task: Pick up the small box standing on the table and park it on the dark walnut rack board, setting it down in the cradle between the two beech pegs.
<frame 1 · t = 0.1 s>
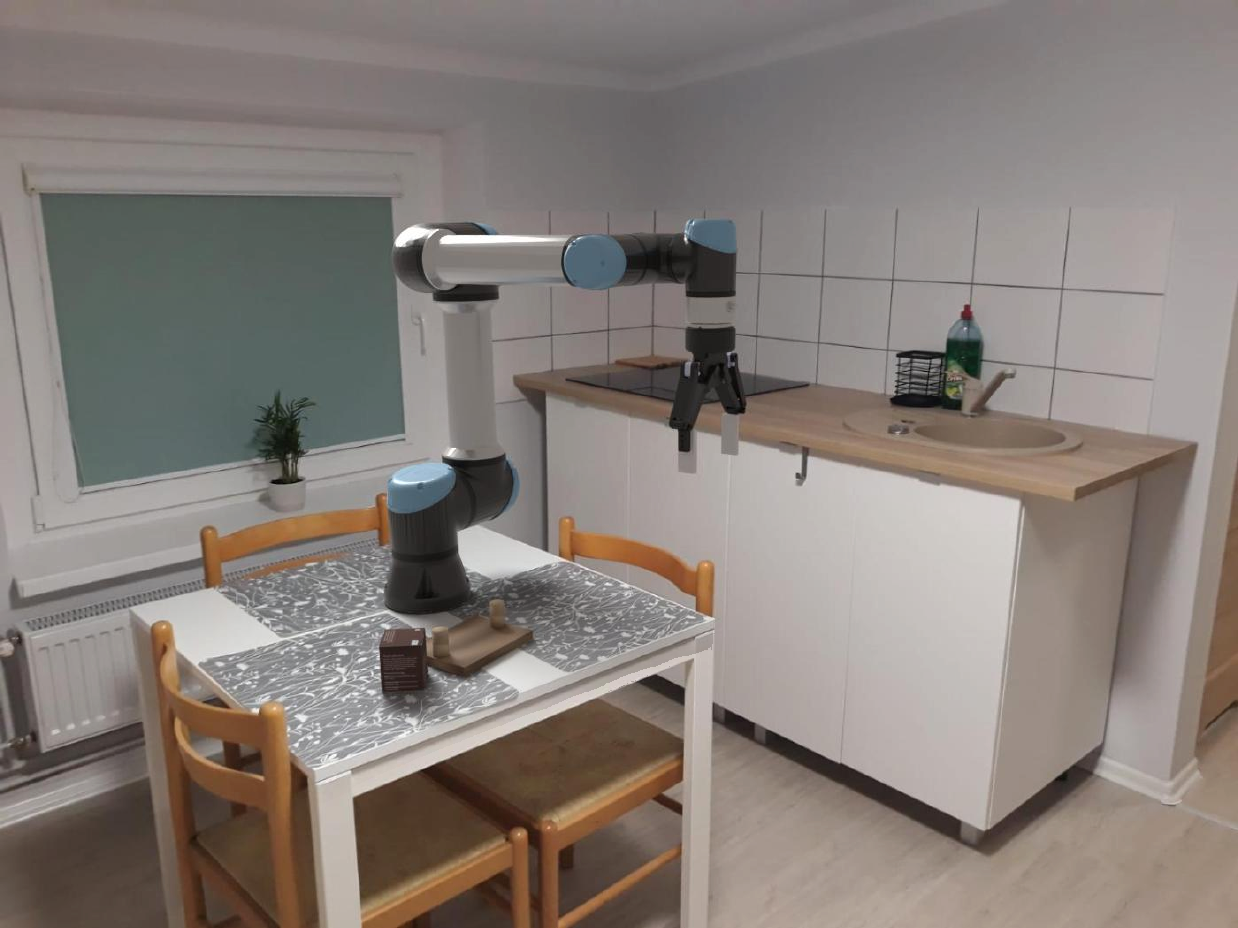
hand: (709, 463, 152), 28 cm above the table, fingers open, 13 cm apart
box: (405, 684, 142), on the table
rack board: (471, 648, 153), on the table
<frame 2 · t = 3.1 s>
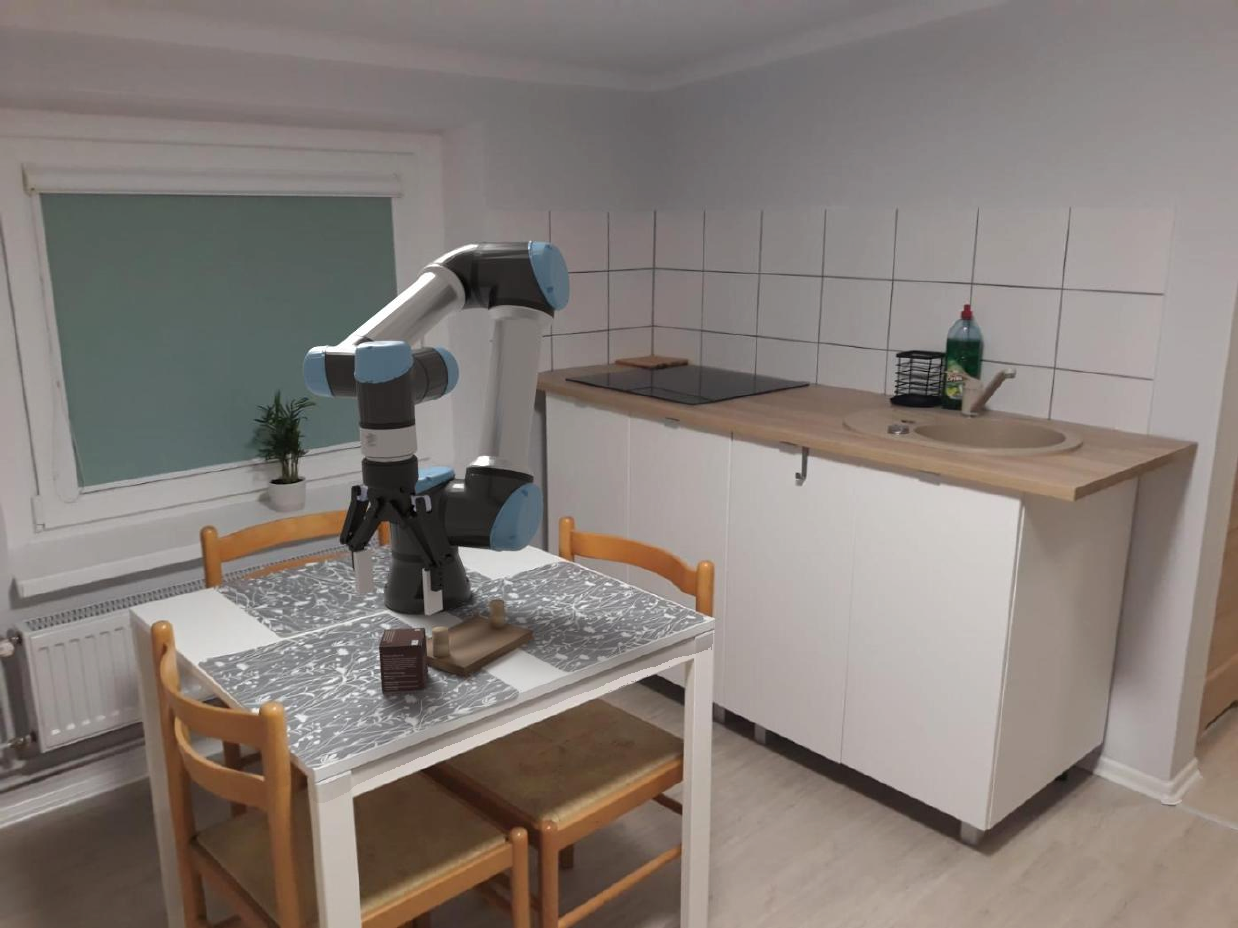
hand: (398, 602, 139), 13 cm above the table, fingers open, 13 cm apart
nothing on the table moved.
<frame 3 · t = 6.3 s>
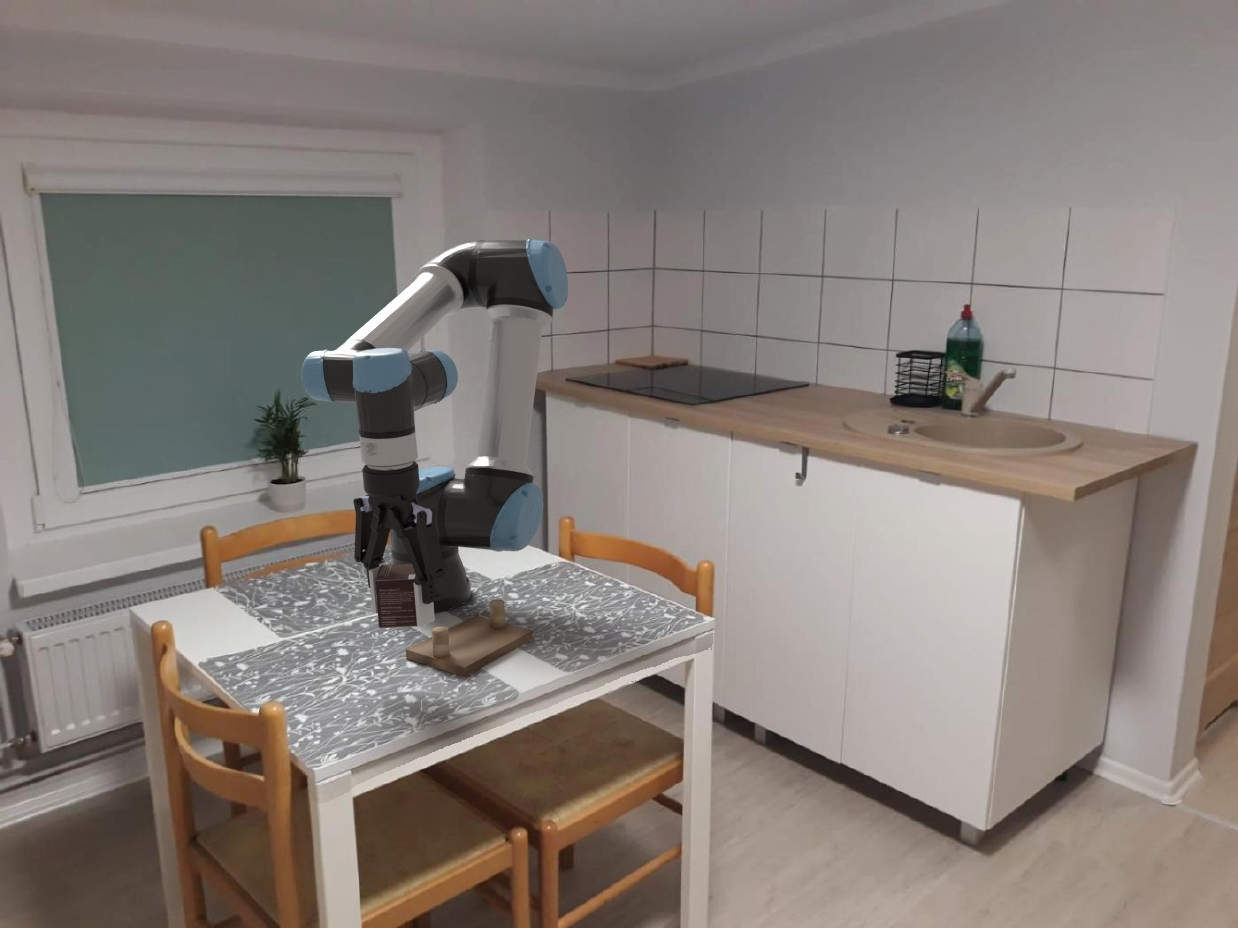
hand: (403, 616, 140), 10 cm above the table, fingers closed on box, 8 cm apart
box: (403, 620, 140), point 9 cm above the table, touching gripper
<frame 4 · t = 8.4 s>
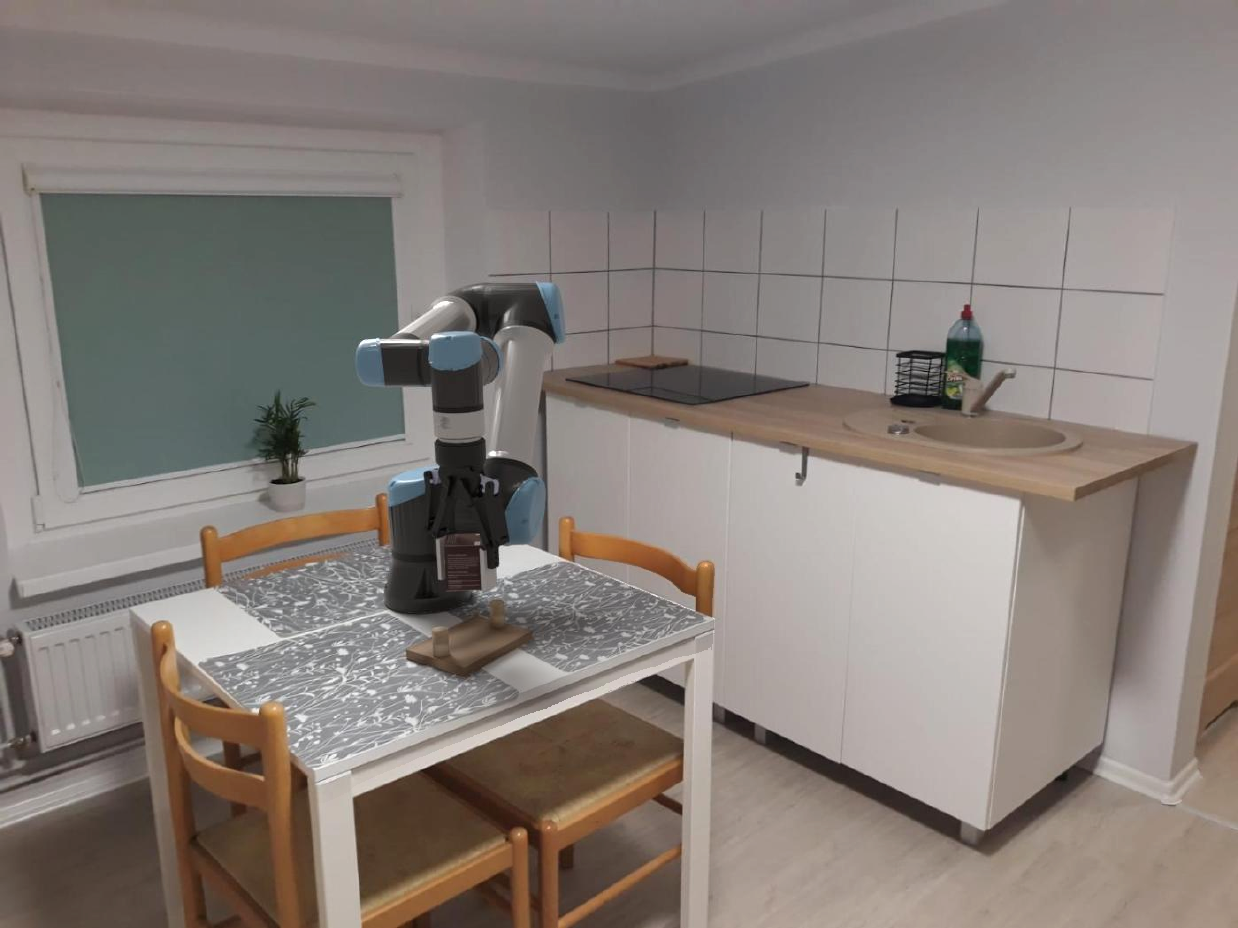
hand: (467, 582, 151), 11 cm above the table, fingers closed on box, 8 cm apart
box: (466, 585, 151), point 10 cm above the table, touching gripper
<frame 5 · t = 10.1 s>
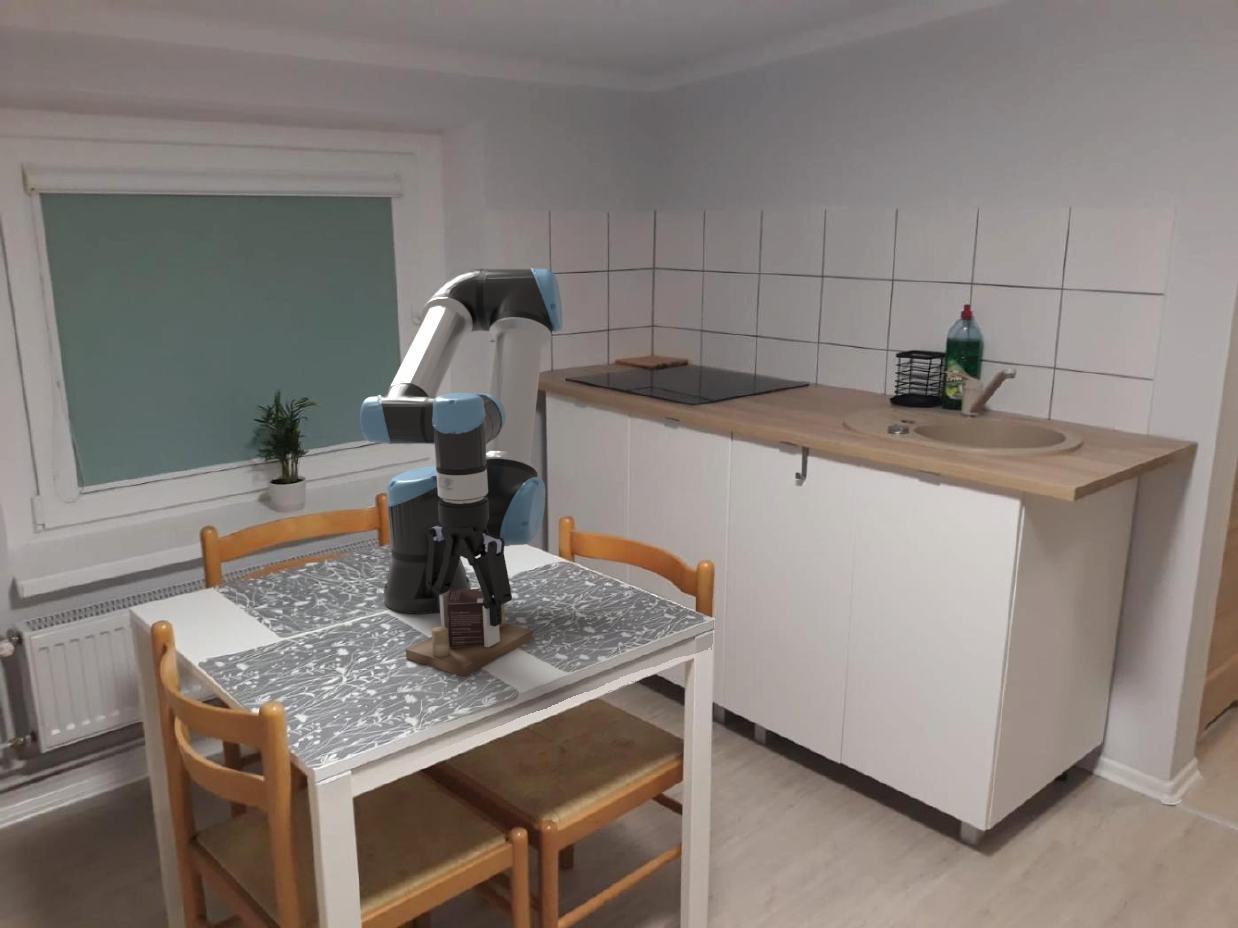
hand: (470, 637, 153), 2 cm above the table, fingers closed on box, 8 cm apart
box: (470, 640, 153), point 1 cm above the table, touching gripper, rack board
when the fingers open (2 cm above the table, at t = 10.8 s): box stays where it is, resting on rack board.
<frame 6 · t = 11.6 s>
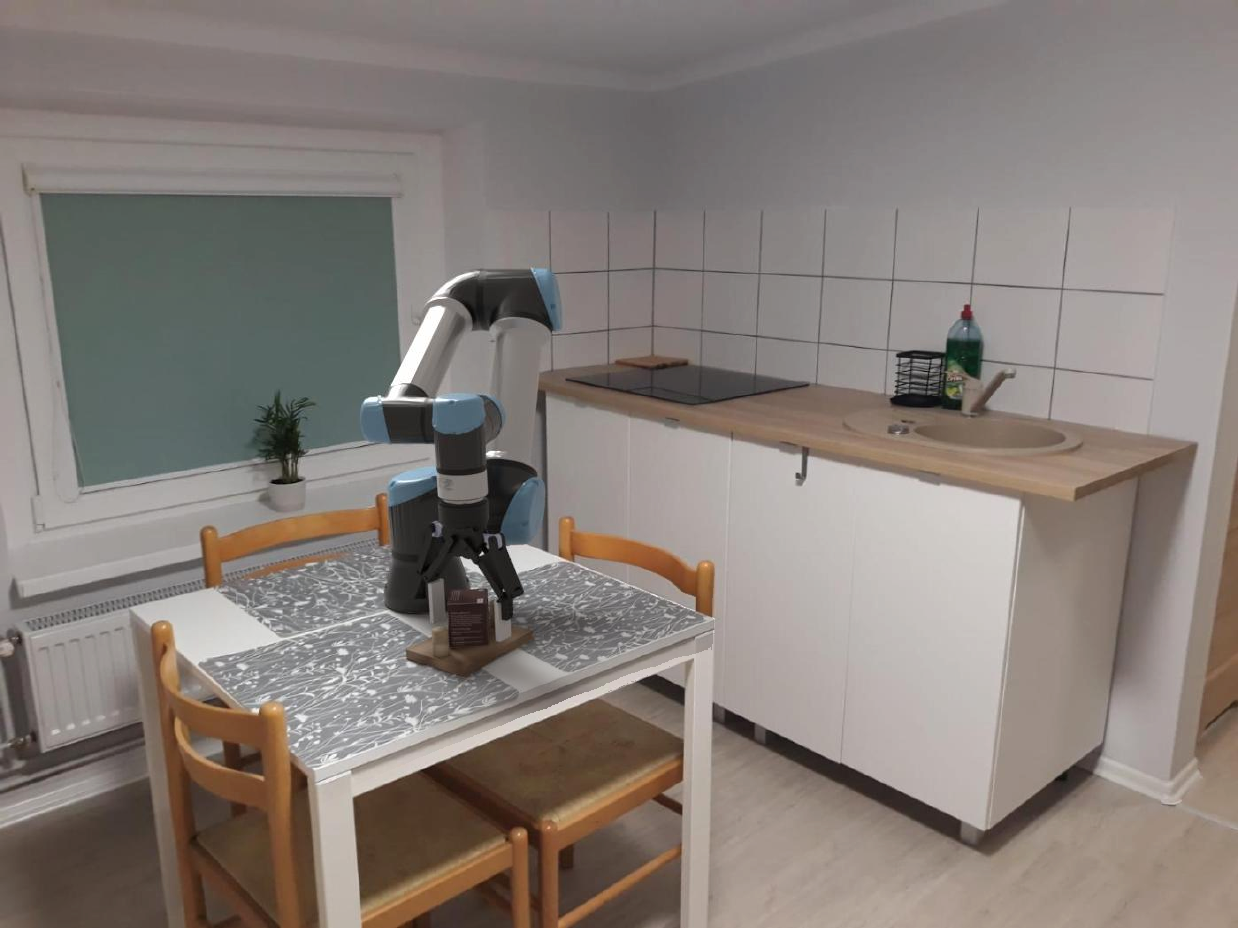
hand: (470, 629, 153), 3 cm above the table, fingers open, 13 cm apart
box: (470, 641, 153), point 1 cm above the table, touching rack board
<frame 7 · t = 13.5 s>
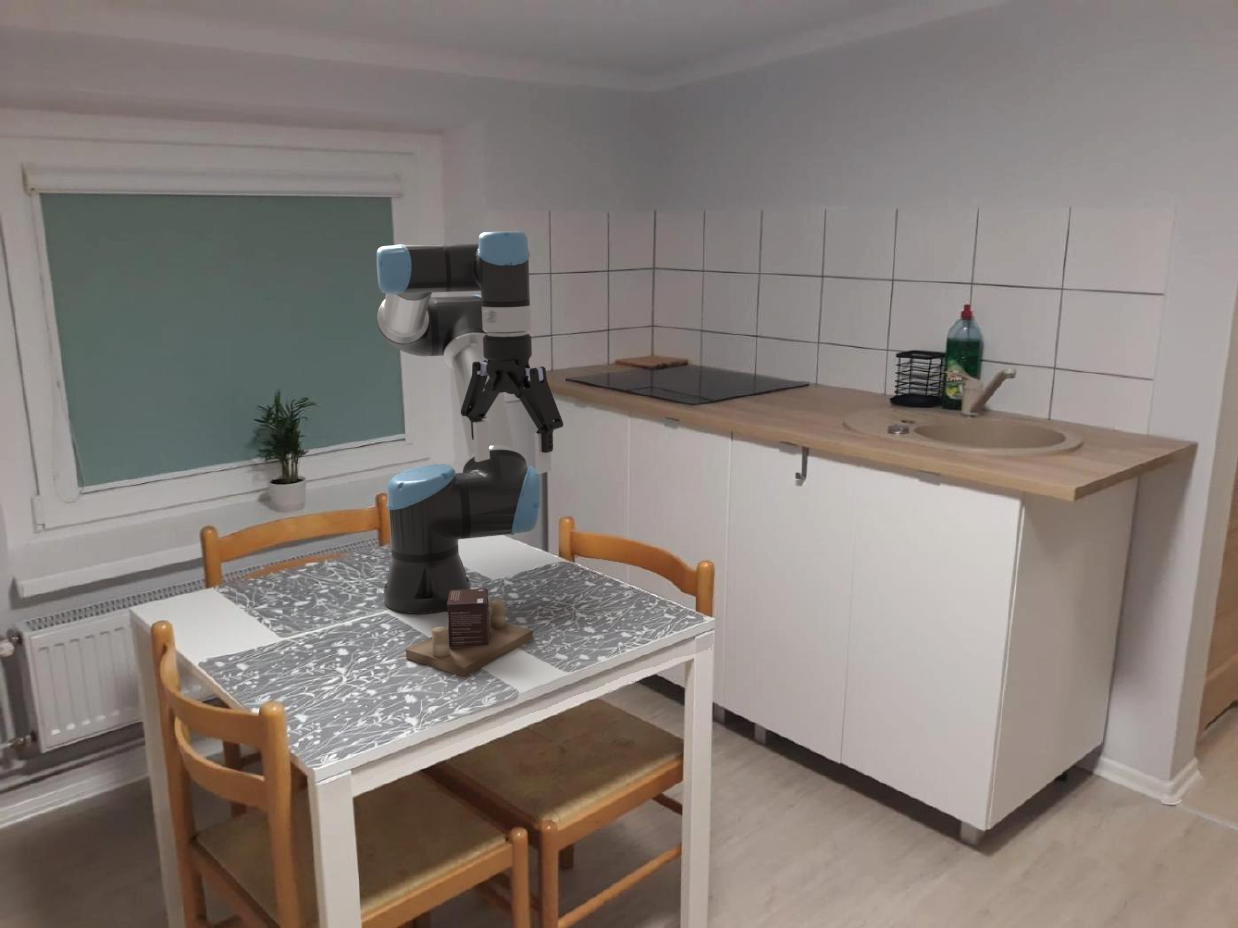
hand: (512, 466, 158), 27 cm above the table, fingers open, 13 cm apart
nothing on the table moved.
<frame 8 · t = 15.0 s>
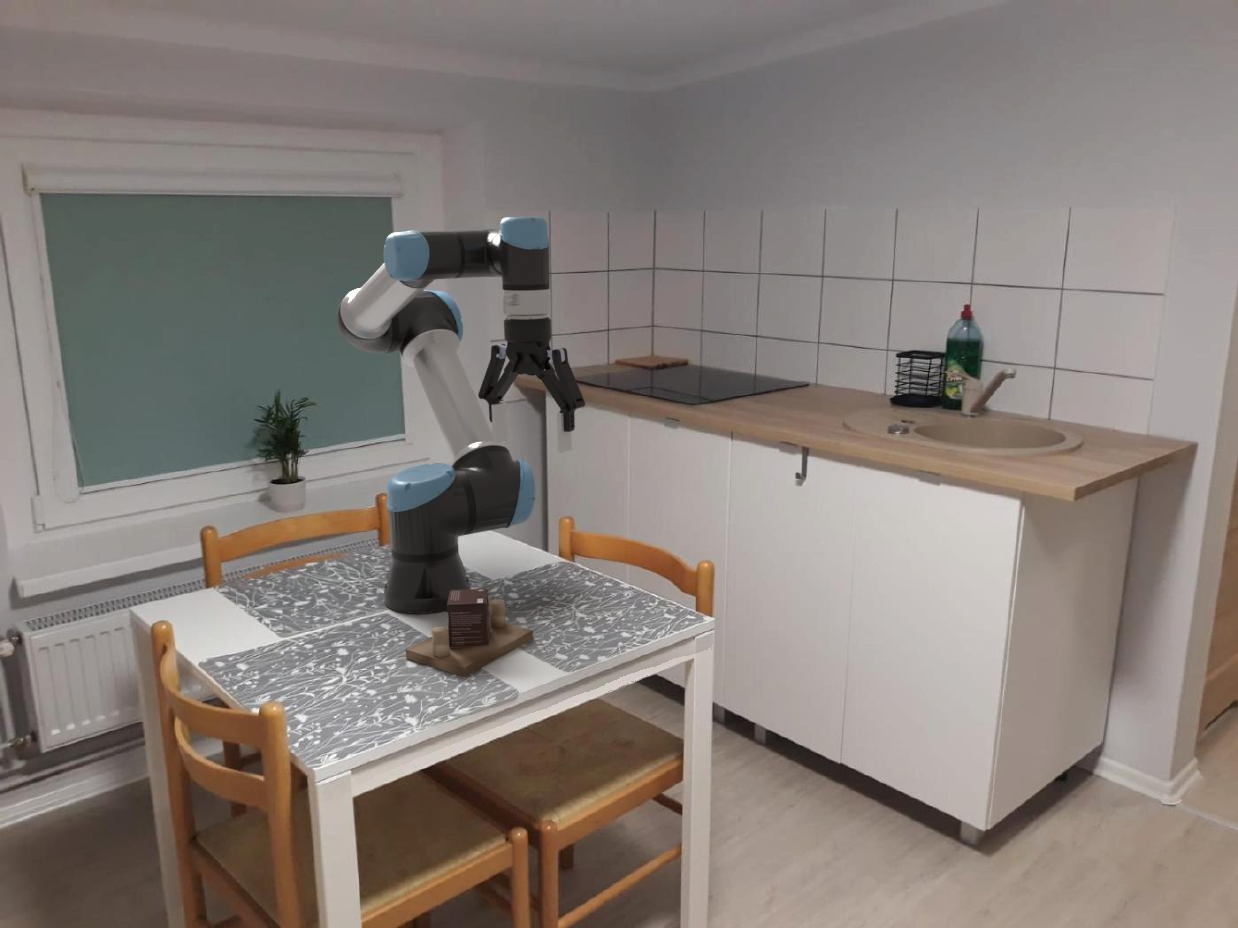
hand: (531, 446, 162), 29 cm above the table, fingers open, 13 cm apart
nothing on the table moved.
at the end: box inside the target area on the rack board (0.1 cm from its centre), point 1.3 cm above the rack board's base; box tilted 0°; the gripper is holding nothing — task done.
